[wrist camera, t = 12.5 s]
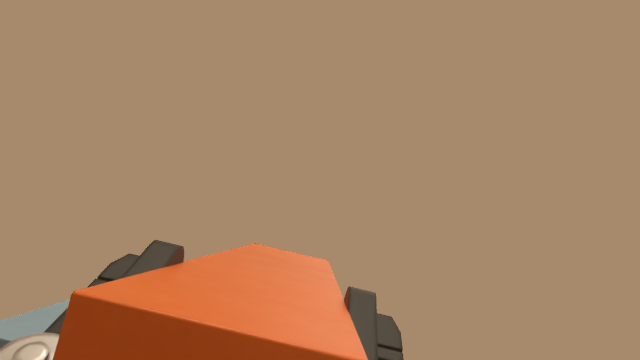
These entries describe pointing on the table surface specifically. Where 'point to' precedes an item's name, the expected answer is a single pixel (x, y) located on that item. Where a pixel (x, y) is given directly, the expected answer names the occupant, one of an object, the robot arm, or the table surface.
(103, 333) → the orange rectangular bar
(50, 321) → the storage tub
